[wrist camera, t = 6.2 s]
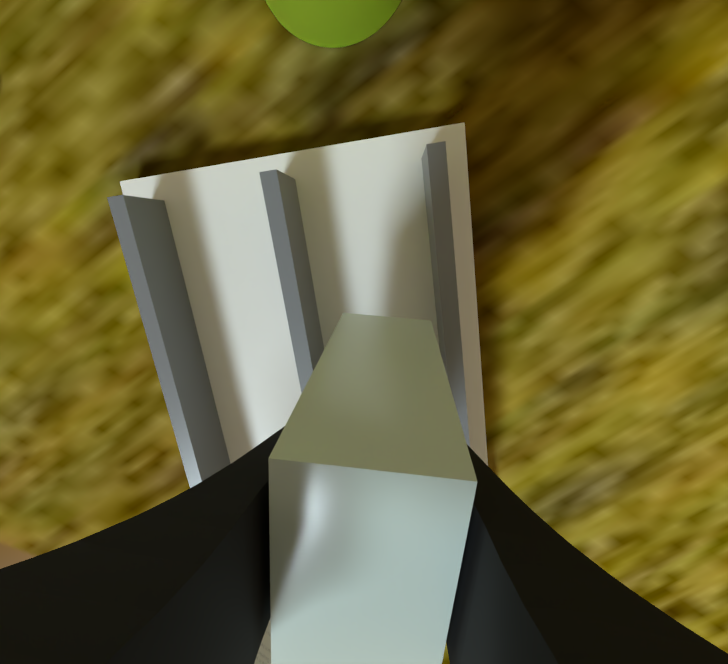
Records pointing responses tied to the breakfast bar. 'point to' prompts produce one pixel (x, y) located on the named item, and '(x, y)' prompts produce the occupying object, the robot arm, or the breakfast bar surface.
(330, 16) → the soap dispenser
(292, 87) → the breakfast bar surface
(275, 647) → the white rectangular block
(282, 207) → the dish rack
